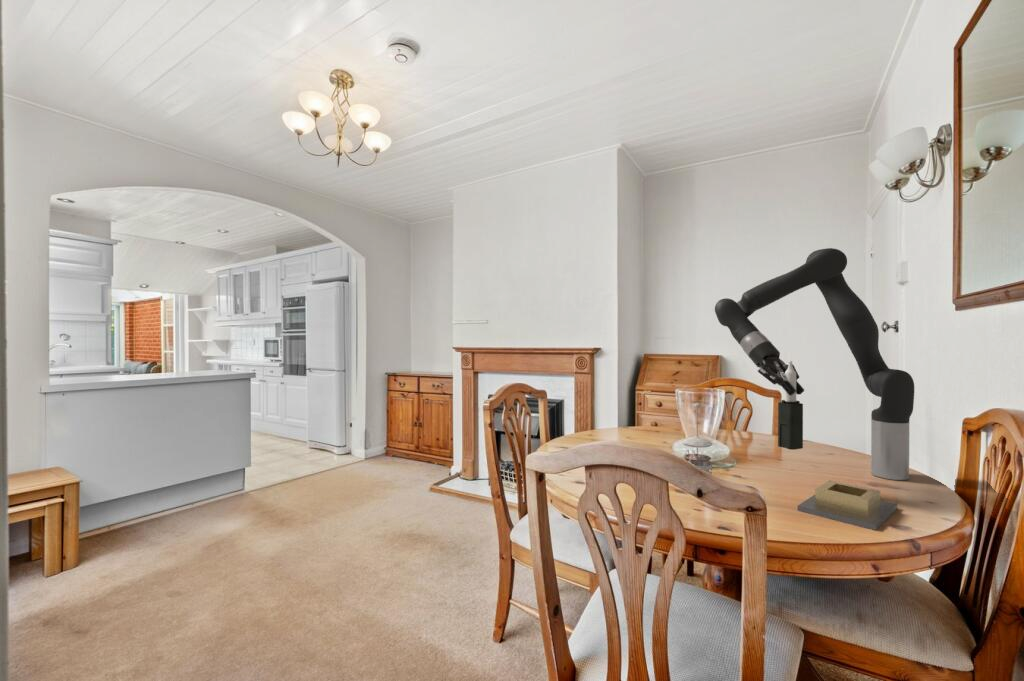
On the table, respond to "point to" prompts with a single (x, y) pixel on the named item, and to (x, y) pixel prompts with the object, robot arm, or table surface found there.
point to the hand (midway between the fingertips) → (797, 392)
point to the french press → (697, 459)
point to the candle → (790, 416)
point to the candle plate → (850, 516)
